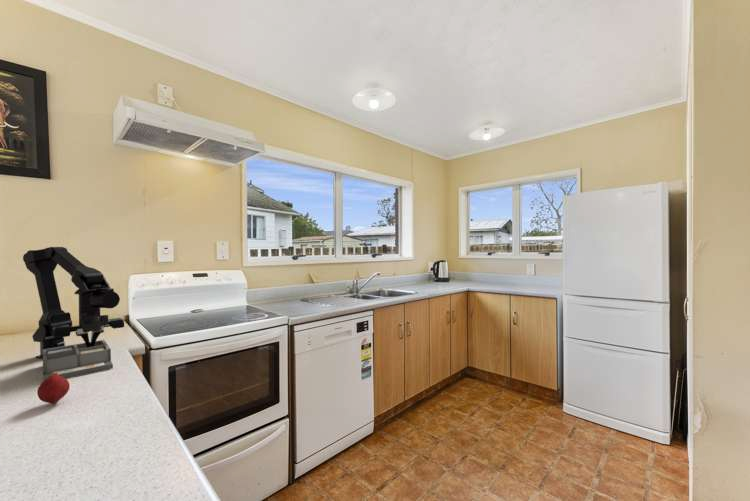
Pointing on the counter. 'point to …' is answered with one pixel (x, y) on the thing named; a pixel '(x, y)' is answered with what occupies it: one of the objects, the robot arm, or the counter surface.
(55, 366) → the grey compartment tray
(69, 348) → the slate key
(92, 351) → the sand key
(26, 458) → the counter surface
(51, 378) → the onion
